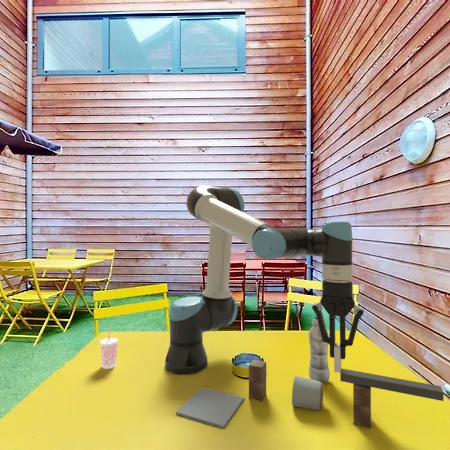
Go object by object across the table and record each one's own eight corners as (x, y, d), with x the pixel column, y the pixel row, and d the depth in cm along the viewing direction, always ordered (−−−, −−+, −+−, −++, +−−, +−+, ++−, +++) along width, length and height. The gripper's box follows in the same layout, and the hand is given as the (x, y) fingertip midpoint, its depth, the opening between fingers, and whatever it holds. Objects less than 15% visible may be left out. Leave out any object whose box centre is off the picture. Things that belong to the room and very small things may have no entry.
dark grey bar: (340, 381, 79) (340, 373, 79) (341, 375, 82) (341, 368, 82) (443, 401, 70) (443, 392, 70) (440, 394, 73) (440, 386, 73)
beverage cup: (97, 365, 111) (97, 326, 111) (114, 360, 115) (114, 323, 115) (103, 371, 107) (103, 330, 107) (120, 366, 111) (120, 327, 111)
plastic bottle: (319, 388, 95) (318, 323, 95) (304, 378, 101) (303, 317, 101) (334, 383, 98) (334, 320, 98) (318, 374, 104) (318, 314, 104)
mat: (176, 414, 82) (176, 411, 82) (201, 388, 95) (201, 386, 95) (223, 428, 76) (223, 426, 76) (244, 399, 89) (244, 397, 89)
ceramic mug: (323, 417, 81) (323, 387, 81) (291, 411, 83) (291, 382, 83) (323, 396, 91) (323, 370, 91) (295, 392, 93) (295, 366, 93)
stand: (248, 398, 89) (248, 365, 89) (253, 391, 93) (253, 359, 93) (371, 428, 76) (370, 389, 76) (370, 419, 80) (370, 381, 80)
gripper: (309, 280, 81) (309, 371, 80) (364, 284, 75) (364, 381, 75) (314, 276, 87) (314, 360, 87) (364, 279, 82) (365, 368, 82)
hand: (337, 370), depth 81 cm, fingers closed
